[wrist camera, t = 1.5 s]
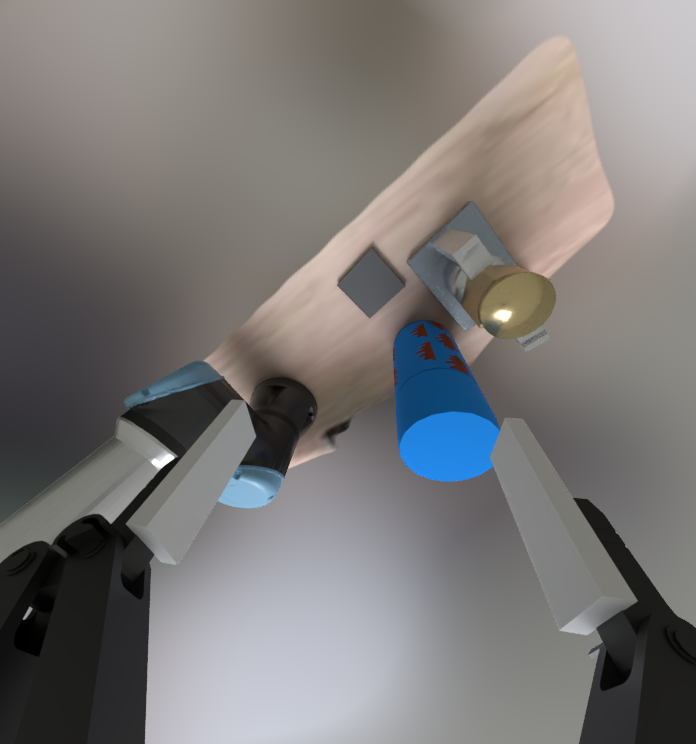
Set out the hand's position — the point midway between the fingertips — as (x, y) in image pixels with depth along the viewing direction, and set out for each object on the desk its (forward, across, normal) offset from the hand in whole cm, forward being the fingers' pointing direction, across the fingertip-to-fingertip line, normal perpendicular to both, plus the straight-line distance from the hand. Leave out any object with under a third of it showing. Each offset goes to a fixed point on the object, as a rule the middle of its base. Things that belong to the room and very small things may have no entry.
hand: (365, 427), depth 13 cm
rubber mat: (+35, -2, -1) cm, 35 cm away
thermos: (+35, +8, -12) cm, 38 cm away
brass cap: (+25, +13, +1) cm, 28 cm away
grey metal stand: (+35, +13, +1) cm, 37 cm away
